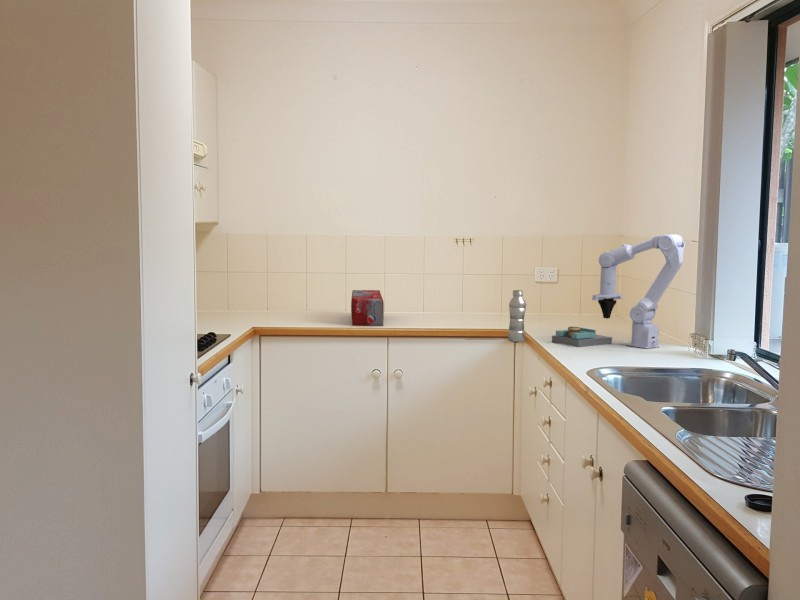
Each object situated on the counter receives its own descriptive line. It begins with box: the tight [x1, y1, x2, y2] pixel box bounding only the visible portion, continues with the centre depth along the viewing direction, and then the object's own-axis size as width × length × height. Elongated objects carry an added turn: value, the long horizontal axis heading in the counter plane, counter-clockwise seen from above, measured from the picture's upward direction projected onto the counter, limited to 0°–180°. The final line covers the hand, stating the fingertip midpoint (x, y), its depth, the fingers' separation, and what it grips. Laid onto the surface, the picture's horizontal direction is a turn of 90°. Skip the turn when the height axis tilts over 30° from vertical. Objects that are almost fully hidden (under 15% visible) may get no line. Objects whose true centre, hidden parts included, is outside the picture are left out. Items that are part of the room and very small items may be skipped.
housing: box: [551, 334, 613, 348], centre depth 316 cm, size 14×18×2 cm
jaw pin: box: [567, 326, 582, 339], centre depth 313 cm, size 5×5×6 cm
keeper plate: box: [555, 327, 597, 339], centre depth 313 cm, size 11×10×3 cm
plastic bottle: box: [507, 289, 527, 344], centre depth 313 cm, size 6×7×20 cm
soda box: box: [350, 289, 385, 327], centre depth 376 cm, size 40×14×13 cm, turn 4°
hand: (606, 318), depth 318 cm, fingers closed
